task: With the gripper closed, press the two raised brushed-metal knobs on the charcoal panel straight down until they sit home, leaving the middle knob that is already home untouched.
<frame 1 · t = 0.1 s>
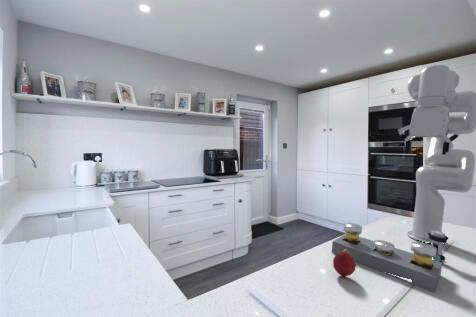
hand: (425, 153, 80), 37 cm above the counter, tool pointing down, fingers open, 9 cm apart
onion: (342, 277, 66), on the counter
knob 2: (422, 255, 68), point 7 cm above the counter, slide at 0.0 cm
knob panel: (382, 262, 76), on the counter
push button: (436, 262, 79), on the counter
knob middle: (383, 252, 76), point 4 cm above the counter, slide at 3.0 cm
knob 1: (352, 233, 83), point 7 cm above the counter, slide at 0.0 cm
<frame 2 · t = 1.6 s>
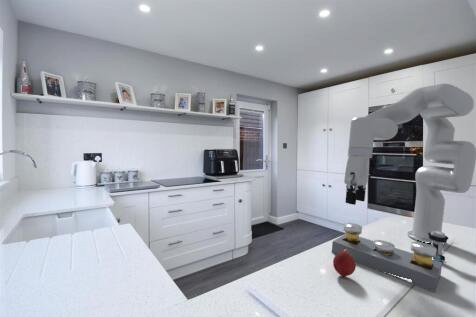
hand: (355, 201, 82), 18 cm above the counter, tool pointing down, fingers open, 8 cm apart
nothing on the counter moved.
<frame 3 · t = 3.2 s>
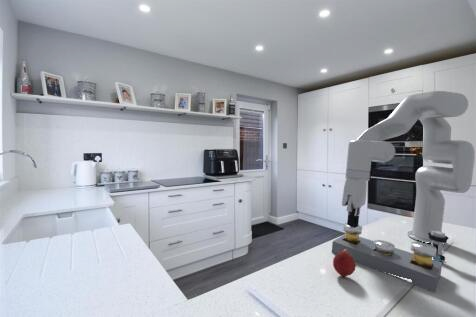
hand: (352, 225, 82), 9 cm above the counter, tool pointing down, fingers closed
knob 1: (352, 233, 83), point 6 cm above the counter, slide at 0.1 cm, touching gripper
everything else where it was.
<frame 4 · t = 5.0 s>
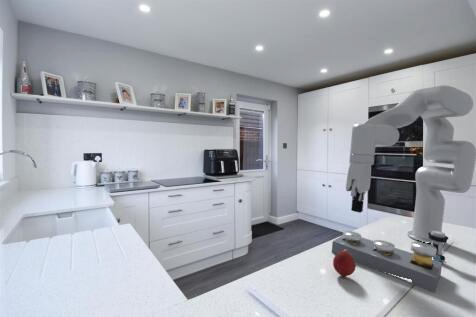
hand: (356, 211, 81), 15 cm above the counter, tool pointing down, fingers closed
knob 1: (351, 242, 83), point 3 cm above the counter, slide at 3.0 cm
everything else where it was.
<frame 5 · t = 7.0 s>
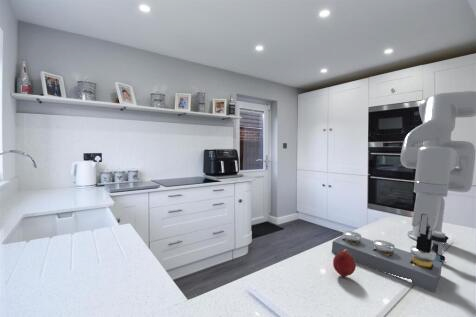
hand: (423, 250, 68), 8 cm above the counter, tool pointing down, fingers closed
knob 2: (422, 259, 68), point 5 cm above the counter, slide at 1.3 cm, touching gripper
everything else where it was.
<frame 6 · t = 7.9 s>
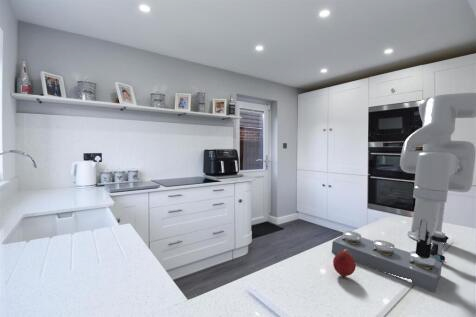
hand: (422, 255, 68), 7 cm above the counter, tool pointing down, fingers closed
knob 2: (421, 265, 68), point 3 cm above the counter, slide at 3.1 cm
everything else where it was.
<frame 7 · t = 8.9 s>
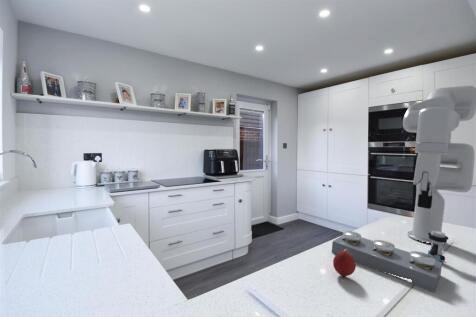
hand: (424, 207, 72), 20 cm above the counter, tool pointing down, fingers closed
nothing on the counter moved.
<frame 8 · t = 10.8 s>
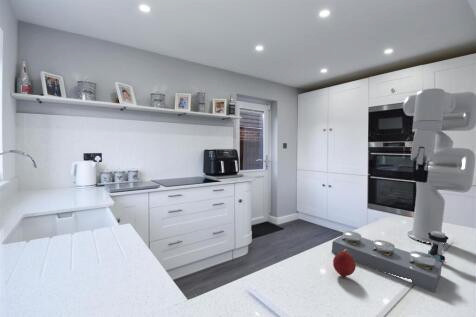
hand: (420, 181, 78), 27 cm above the counter, tool pointing down, fingers closed
nothing on the counter moved.
at the end: knob 1 slide at 3.0 cm; knob 2 slide at 3.1 cm; knob middle slide at 3.0 cm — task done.
